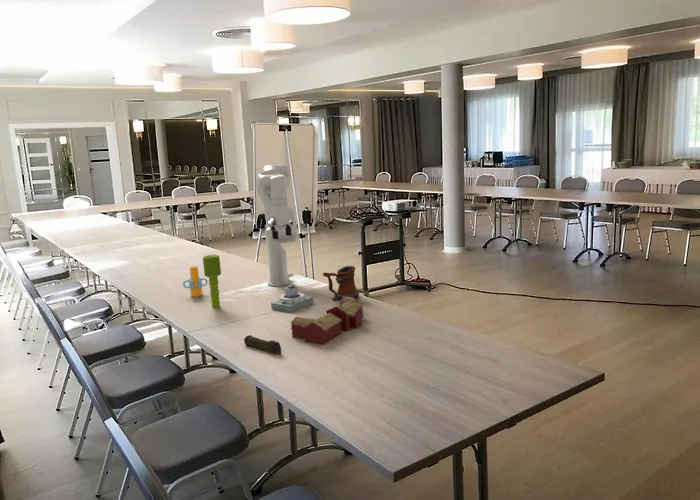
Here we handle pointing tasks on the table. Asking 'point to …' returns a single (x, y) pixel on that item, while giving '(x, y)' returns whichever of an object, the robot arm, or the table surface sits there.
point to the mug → (343, 283)
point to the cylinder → (195, 282)
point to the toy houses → (329, 322)
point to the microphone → (213, 276)
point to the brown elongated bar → (263, 344)
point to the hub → (291, 291)
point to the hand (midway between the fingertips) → (282, 237)
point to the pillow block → (291, 303)
